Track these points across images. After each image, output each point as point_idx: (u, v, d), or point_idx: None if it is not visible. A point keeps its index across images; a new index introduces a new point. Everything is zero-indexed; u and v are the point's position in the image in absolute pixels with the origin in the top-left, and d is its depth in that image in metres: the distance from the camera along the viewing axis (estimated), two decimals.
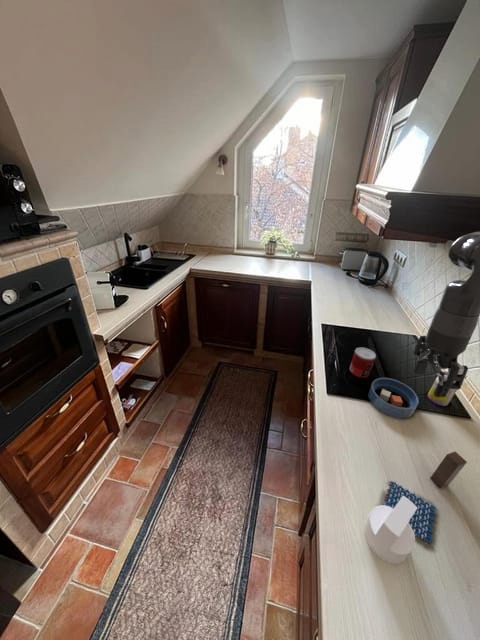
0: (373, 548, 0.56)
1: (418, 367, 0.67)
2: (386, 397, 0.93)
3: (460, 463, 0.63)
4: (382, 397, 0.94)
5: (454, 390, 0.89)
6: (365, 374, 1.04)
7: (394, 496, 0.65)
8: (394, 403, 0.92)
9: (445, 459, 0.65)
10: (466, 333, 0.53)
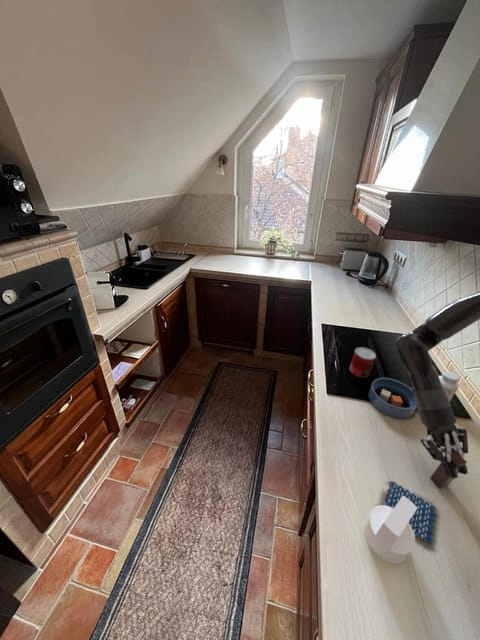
0: (373, 548, 0.56)
1: None
2: (386, 397, 0.93)
3: (460, 463, 0.63)
4: (382, 397, 0.94)
5: (454, 390, 0.89)
6: (365, 374, 1.04)
7: (394, 496, 0.65)
8: (394, 403, 0.92)
9: None
10: (423, 405, 0.67)
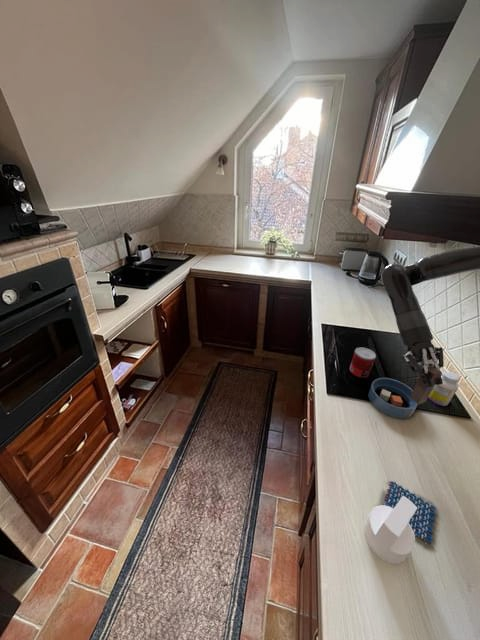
0: (373, 548, 0.56)
1: None
2: (386, 397, 0.93)
3: (436, 373, 0.71)
4: (382, 397, 0.94)
5: (454, 390, 0.89)
6: (365, 374, 1.04)
7: (394, 496, 0.65)
8: (394, 403, 0.92)
9: None
10: (404, 326, 0.75)
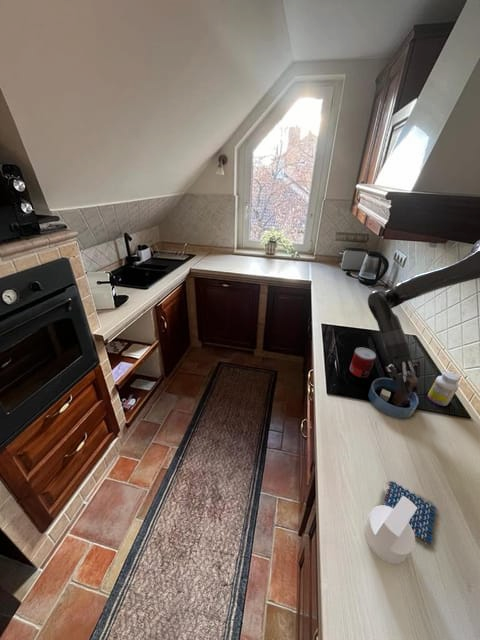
0: (373, 548, 0.56)
1: None
2: (386, 397, 0.93)
3: (413, 382, 0.85)
4: (382, 397, 0.94)
5: (454, 390, 0.89)
6: (365, 374, 1.04)
7: (394, 496, 0.65)
8: None
9: None
10: (387, 342, 0.89)
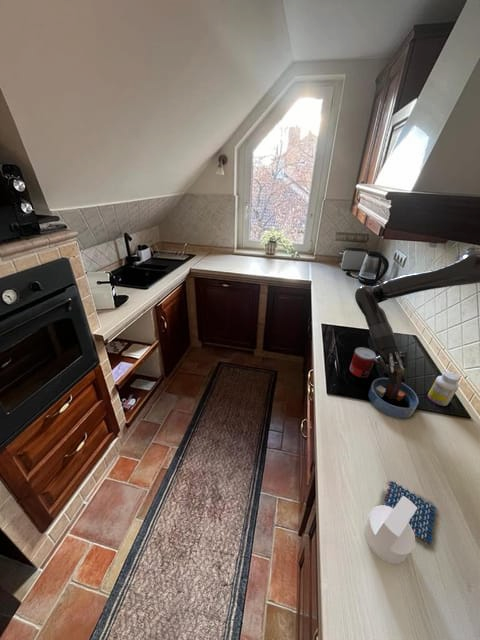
0: (373, 548, 0.56)
1: None
2: (380, 393, 0.95)
3: (400, 371, 0.88)
4: (377, 392, 0.96)
5: (454, 390, 0.89)
6: (365, 374, 1.04)
7: (394, 496, 0.65)
8: None
9: None
10: (374, 335, 0.93)
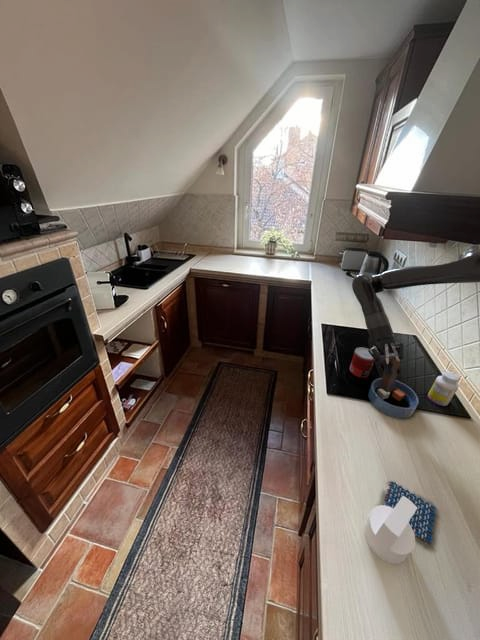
0: (373, 548, 0.56)
1: None
2: (381, 394, 0.94)
3: (394, 362, 0.86)
4: (378, 394, 0.96)
5: (454, 390, 0.89)
6: (365, 374, 1.04)
7: (394, 496, 0.65)
8: (393, 394, 0.95)
9: None
10: (370, 325, 0.90)
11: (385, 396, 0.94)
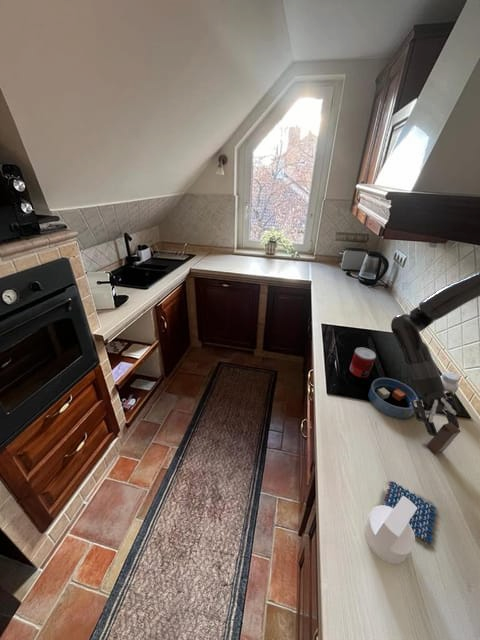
0: (373, 548, 0.56)
1: (448, 420, 0.76)
2: (381, 394, 0.94)
3: (455, 432, 0.71)
4: (378, 394, 0.96)
5: (454, 390, 0.89)
6: (365, 374, 1.04)
7: (394, 496, 0.65)
8: (393, 394, 0.95)
9: (441, 429, 0.73)
10: (415, 376, 0.77)
11: (385, 396, 0.94)
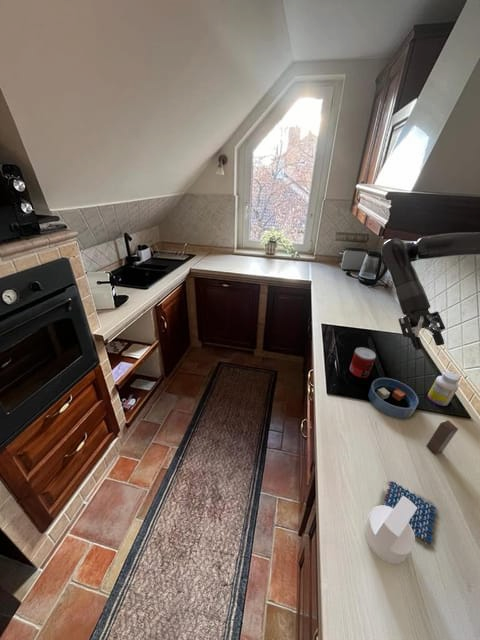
0: (373, 548, 0.56)
1: (434, 339, 0.79)
2: (381, 394, 0.94)
3: (452, 430, 0.71)
4: (378, 394, 0.96)
5: (454, 390, 0.89)
6: (365, 374, 1.04)
7: (394, 496, 0.65)
8: (393, 394, 0.95)
9: (439, 427, 0.74)
10: (403, 296, 0.79)
11: (385, 396, 0.94)
